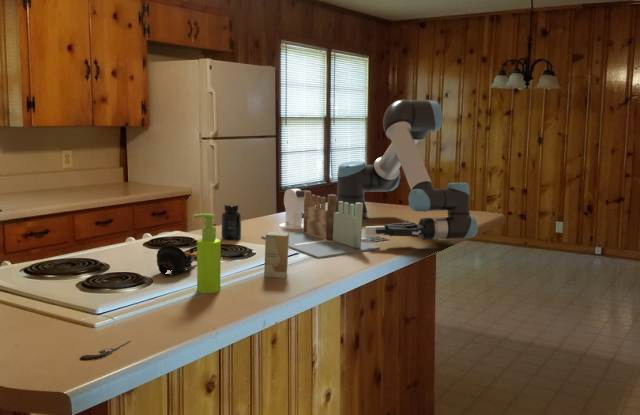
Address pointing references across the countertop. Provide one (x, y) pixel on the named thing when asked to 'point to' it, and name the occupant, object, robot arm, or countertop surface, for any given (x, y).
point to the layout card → (322, 245)
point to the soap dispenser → (208, 257)
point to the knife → (90, 357)
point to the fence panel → (348, 224)
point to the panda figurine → (293, 208)
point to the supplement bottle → (231, 222)
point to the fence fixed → (319, 215)
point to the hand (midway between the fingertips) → (365, 230)
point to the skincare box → (276, 254)
